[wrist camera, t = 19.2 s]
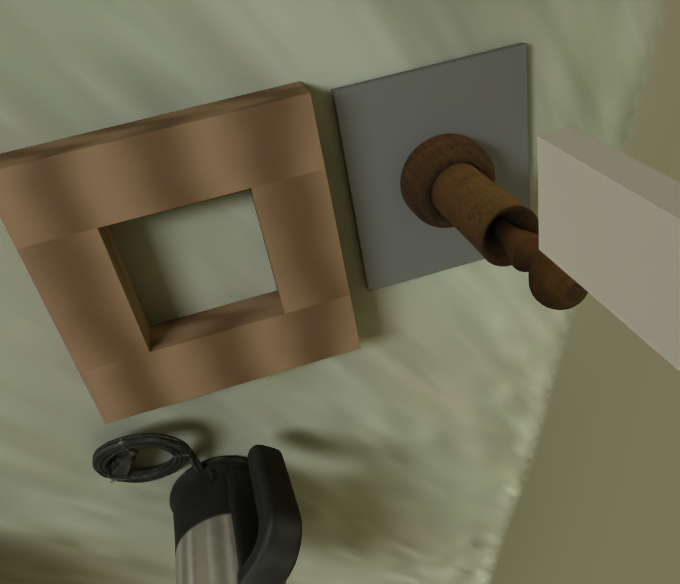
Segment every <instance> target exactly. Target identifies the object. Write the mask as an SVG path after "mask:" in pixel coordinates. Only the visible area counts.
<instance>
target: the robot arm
mask: <svg viewBox="0 0 680 584" xmlns="http://www.w3.org/2000/svg"><path fill="white" fill-rule="evenodd" d="M537 138H538V223H539V250H540V251H541V252H542V253H544V254H545V255H546V256H547V257H548V258H549V259H551V260H552V261H553V262H554V263H555V264H556V265H557V266H559V267H560V268H561V269H562V270H563V271H564V272H566V273H567V274H568V275H569V276H570V277H571V278H572V279H574V280H575V281H576V282H577V283H578V284H579V285H581V286H582V287H583V288H584V289H585V290H586V291H587V292H589V293H590V294H591V295H592V296H593V297H594V298H596V299H597V300H598V301H599V302H600V303H601V304H603V305H604V306H605V307H606V308H607V309H608V310H609V311H611V312H612V313H613V314H614V315H615V316H616V317H617V318H619V319H620V320H621V321H622V322H623V323H625V324H626V325H627V326H628V327H629V328H630V329H631V330H632V331H634V332H635V333H636V334H637V335H638V336H640V337H641V338H642V339H643V340H644V341H645V342H646V343H648V344H649V345H650V346H651V347H652V348H653V349H654V350H656V351H657V352H658V353H659V354H660V355H661V356H663V357H664V358H665V359H666V360H667V361H668V362H669V363H671V364H672V365H673V366H674V367H675V368H676V369H677V370H679V371H680V183H679V182H678V181H676V180H674V179H672V178H670V177H668V176H666V175H664V174H662V173H660V172H658V171H656V170H654V169H653V168H651V167H649V166H646V165H645V164H643V163H641V162H639V161H637V160H635V159H633V158H631V157H629V156H627V155H625V154H623V153H622V152H620V151H618V150H616V149H614V148H612V147H610V146H608V145H606V144H604V143H602V142H600V141H598V140H596V139H594V138H592V137H591V136H589V135H587V134H585V133H583V132H581V131H579V130H577V129H575V128H573V127H567V128H564V129H560V130H557V131H554V132H550V133H547V134H543V135H540V136H537Z"/></svg>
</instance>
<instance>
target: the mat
mask: <svg viewBox="0 0 680 584" xmlns="http://www.w3.org/2000/svg"><path fill="white" fill-rule="evenodd" d="M331 90H332V96H333V102H334V107H335V113H336V118H337V124H338V129H339V135H340V141H341V146H342V152H343V157H344V163H345V168H346V174H347V180H348V185H349V191H350V196H351V202H352V207H353V213H354V219H355V224H356V230H357V235H358V241H359V246H360V252H361V258H362V263H363V269H364V274H365V280H366V285H367V289H368V290H369V291H372V290H375V289H379V288H382V287H386V286H389V285H393V284H396V283H400V282H403V281H407V280H410V279H414V278H417V277H421V276H424V275H428V274H431V273H435V272H438V271H442V270H445V269H449V268H452V267H456V266H459V265H463V264H466V263H470V262H473V261H477V260H480V259H484V257H483V256H482V255H481V254H480V253H479V252H478V250H477V249H476V248H475V247H474V246H473V245H472V244H471V243H470V242H469V241H468V240H467V239H466V238H465V237H464V236H463V235H462V234H461V233H460V232H459V231H458V230H457V229H456V228H455V227H451V228H438V227H434V226H431V225H428V224H426V223H425V222H423V221H422V220H420V219H419V218H418V217H417V216H416V215H415V214H414V213H413V211H412V210H411V209H410V208H409V207H408V206H407V204H406V203H405V201H404V199H403V196H402V193H401V188H400V178H401V173H402V169H403V166H404V164H405V162H406V160H407V158H408V157H409V155H410V154H411V153H412V152H413V150H414V149H415V148H416V147H418V146H419V145H420V144H421V143H423V142H424V141H426V140H427V139H429V138H431V137H434V136H437V135H440V134H446V133H453V134H459V135H463V136H465V137H467V138H469V139H470V140H472V141H473V142H475V143H476V144H477V145H479V146H480V147H481V148H482V149H484V150H485V151H486V152H487V154H488V155H489V156H490V158H491V160H492V162H493V165H494V170H495V184H496V185H498V186H499V187H500V188H502V189H503V190H504V191H506V192H507V193H508V194H510V195H511V196H512V197H514V198H515V199H516V200H518V201H519V202H521V203H522V204H523V205H525V206H526V207H527V208H529V149H528V88H527V44H526V43H519V44H515V45H511V46H507V47H502V48H498V49H494V50H490V51H486V52H482V53H478V54H474V55H470V56H466V57H462V58H458V59H453V60H449V61H445V62H441V63H437V64H433V65H429V66H425V67H421V68H417V69H413V70H409V71H404V72H400V73H396V74H392V75H388V76H384V77H380V78H376V79H372V80H368V81H364V82H360V83H355V84H351V85H347V86H343V87H339V88H335V89H331Z"/></svg>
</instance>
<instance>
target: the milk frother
mask: <svg viewBox="0 0 680 584" xmlns="http://www.w3.org/2000/svg"><path fill="white" fill-rule="evenodd" d="M143 448H160V449H164V450H166V451H168V452H170V453H171V454H172V455H173V456H174V457H173V458H172V459H171V460H170V461H168V462H166V463H165V464H162V465H160V466H157V467H154V468H150V469H146V470H138V471H131V469H132V463H133V462H134V461H135V459H136V454H137V453H138V449H143ZM187 460H190V462H191V464H192V467H191V468H190V469H188V470H187V471H185V472H184V473H183V474H182V475H181V476H180V477H179V479H178V480H177V481H176V482H175V484H174V486H173V488H172V491H171V493H170V506H171V510H172V512H173V517H174V531H175V556H176V584H286V580H287V578H288V577H289V575H290V574H291V572H292V570H293V568H294V566H295V563H296V561H297V557H298V554H299V550H300V546H301V539H302V521H301V515H300V511H299V508H298V505H297V502H296V499H295V495H294V491H293V488H292V485H291V481H290V479H289V475H288V472H287V469H286V466H285V463H284V459H283V456H282V454H281V452H280V451H279V450H277V449H275V448H271V447H268V446H264V445H255V446H253V447H252V448H251V449H250V450H249V453H248V460H246V459H244V458H238V457H219V458H213V459H209V460H206V461H203V462H200V461H199V459H198V458H197V456H196V454H195V453H194V451H193V450H192V449H191V448H190V447H189V446H188V444H187V443H185V442H184V441H182V440H180V439H178V438H176V437H173V436H169V435H164V434H155V433H147V434H134V435H129V436H125V437H120V438H117V439H114V440H112V441H109V442H107V443H105V444H103V445H102V446H100V447H99V448H98V449H97V450H96V451H95V453H94V455H93V461H92V463H93V468H94V469H95V471H96V472H98V473H99V474H100V475H101V476H103V477H105V478H109V479H110V482H111V483H114V482H115V481H116V480H117V481H118V482H119V481H121V482H130V483H140V482H149V481H153V480H156V479H160V478H163V477H165V476H168V475H170V474H172V473H174V472H176V471H178V470H179V469H180V468H182V467H183V466H184V465H185V463H186V462H187Z"/></svg>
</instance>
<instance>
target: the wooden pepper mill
mask: <svg viewBox="0 0 680 584" xmlns="http://www.w3.org/2000/svg"><path fill="white" fill-rule="evenodd" d="M400 188H401V193H402V196H403V199H404V201H405V203H406V204H407V206H408V207H409V208H410V209H411V210H412V211H413V213H414V214H415V215H416V216H417V217H418V218H419V219H420V220H422V221H423V222H425V223H426V224H428V225H431V226H434V227H438V228H451V227H455V228H456V229H457V230H458V231H459V232H460V233H461V234H462V235H463V236H464V237H465V238H466V239H467V240H468V241H469V242H470V243H471V244H472V245H473V246H474V247H475V248H476V249H477V250H478V252H479V253H480V254H481V255H482V256H483V257H484V258H485V259H486V260H487V261H488V262H490V263H491V264H493V265H496V266H510V265H513V267H514V268H515V269H517V270H519V271H521V272H529V287H530V290H531V292H532V294H533V296H534V297H535V299H536V300H537V301H538V302H540V303H541V304H542V305H544V306H546V307H548V308H551V309H556V310H565V309H569V308H572V307H574V306H576V305H578V304H579V303H580V302H581V301H582V300H583V299H584V298H585V297H586V295H587V293H588V292H587V291H586V290H585V289H584V288H583V287H582V286H581V285H579V284H578V283H577V282H576V281H575V280H574V279H572V278H571V277H570V276H569V275H568V274H567V273H566V272H564V271H563V270H562V269H561V268H560V267H559V266H557V265H556V264H555V263H554V262H553V261H552V260H551V259H549V258H548V257H547V256H546V255H545V254H544V253H542V252H541V251H540V250H539V223H538V219H537V217H536V215H535V214H534V213H533V212H532V211H531V210H530V209H529V208H527V207H526V206H525V205H523V204H522V203H521V202H519V201H518V200H516V199H515V198H514V197H512V196H511V195H510V194H508V193H507V192H506V191H504V190H503V189H502V188H500V187H499V186H498V185H496V184H495V170H494V165H493V162H492V160H491V158H490V156H489V155H488V154H487V152H486V151H485V150H484V149H482V148H481V147H480V146H479V145H477V144H476V143H475V142H473V141H472V140H470V139H469V138H467V137H465V136H463V135H459V134H453V133H446V134H440V135H437V136H434V137H431V138H429V139H427V140H426V141H424V142H423V143H421V144H420V145H419V146H418V147H416V148H415V149H414V150H413V152H412V153H411V154H410V155H409V157H408V158H407V160H406V162H405V164H404V166H403V169H402V173H401V178H400Z"/></svg>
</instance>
